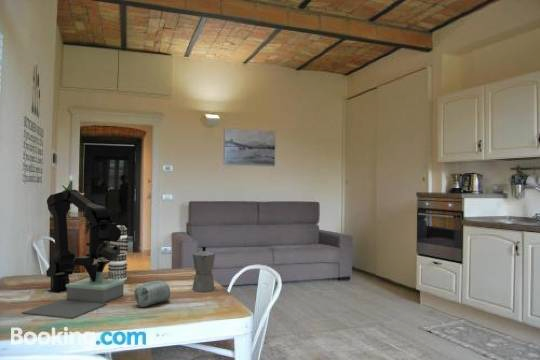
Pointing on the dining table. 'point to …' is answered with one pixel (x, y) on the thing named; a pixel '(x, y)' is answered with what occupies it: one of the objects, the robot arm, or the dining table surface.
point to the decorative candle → (119, 257)
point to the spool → (152, 293)
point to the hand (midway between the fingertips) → (96, 280)
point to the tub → (95, 294)
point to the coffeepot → (203, 271)
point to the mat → (64, 309)
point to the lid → (96, 283)
